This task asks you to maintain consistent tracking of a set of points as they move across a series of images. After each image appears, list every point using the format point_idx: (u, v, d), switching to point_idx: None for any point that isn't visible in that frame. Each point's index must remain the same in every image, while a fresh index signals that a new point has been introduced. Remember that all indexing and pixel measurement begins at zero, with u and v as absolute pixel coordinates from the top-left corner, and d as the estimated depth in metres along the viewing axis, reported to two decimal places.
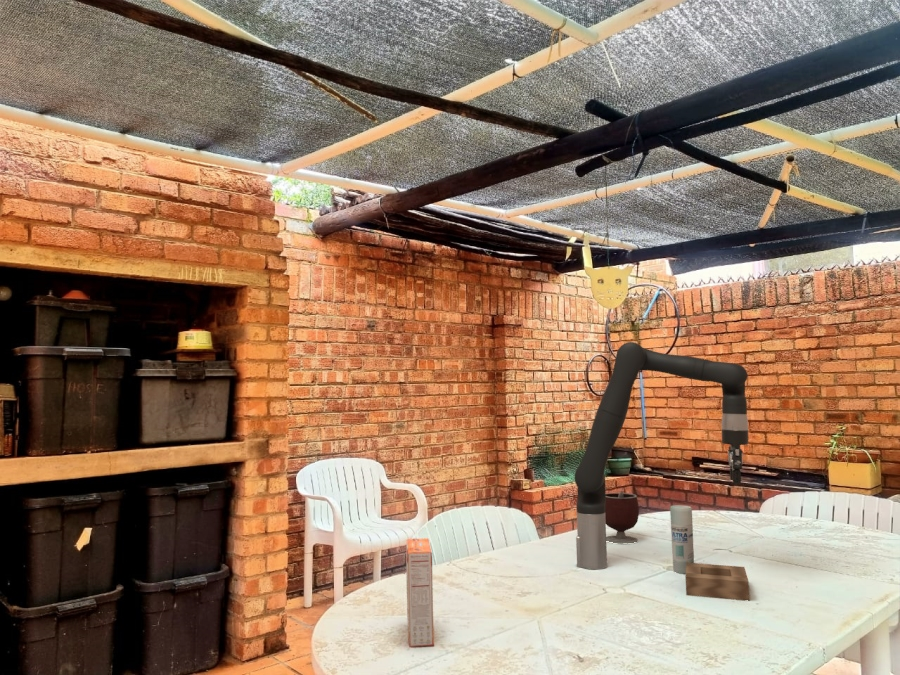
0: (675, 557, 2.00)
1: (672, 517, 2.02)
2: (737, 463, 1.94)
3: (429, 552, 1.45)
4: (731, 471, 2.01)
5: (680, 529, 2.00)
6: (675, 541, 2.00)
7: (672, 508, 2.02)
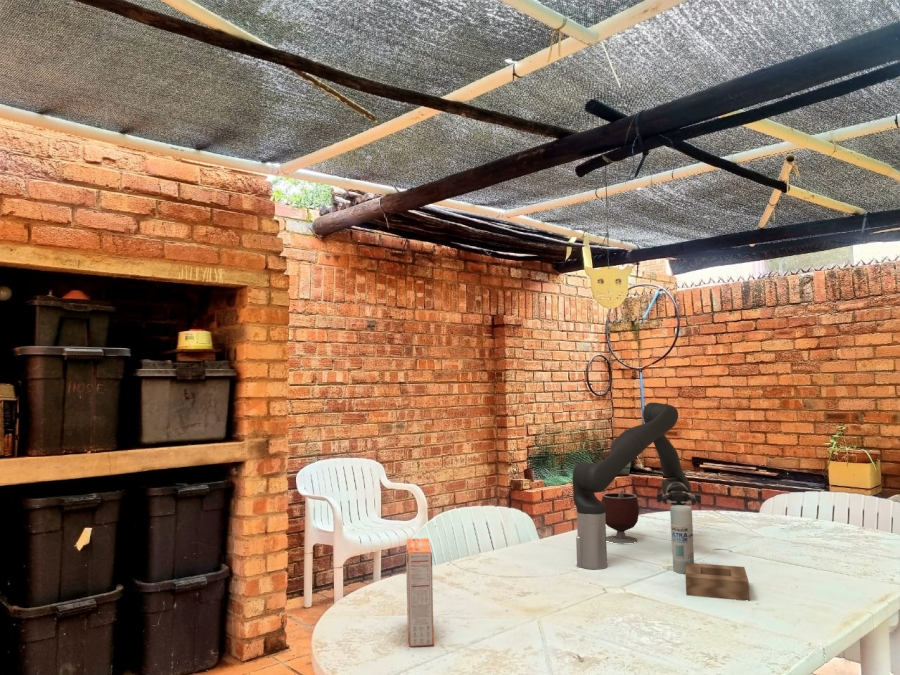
0: (675, 557, 2.00)
1: (672, 517, 2.02)
2: (690, 499, 2.18)
3: (429, 552, 1.45)
4: (666, 497, 2.17)
5: (680, 529, 2.00)
6: (675, 541, 2.00)
7: (672, 508, 2.02)
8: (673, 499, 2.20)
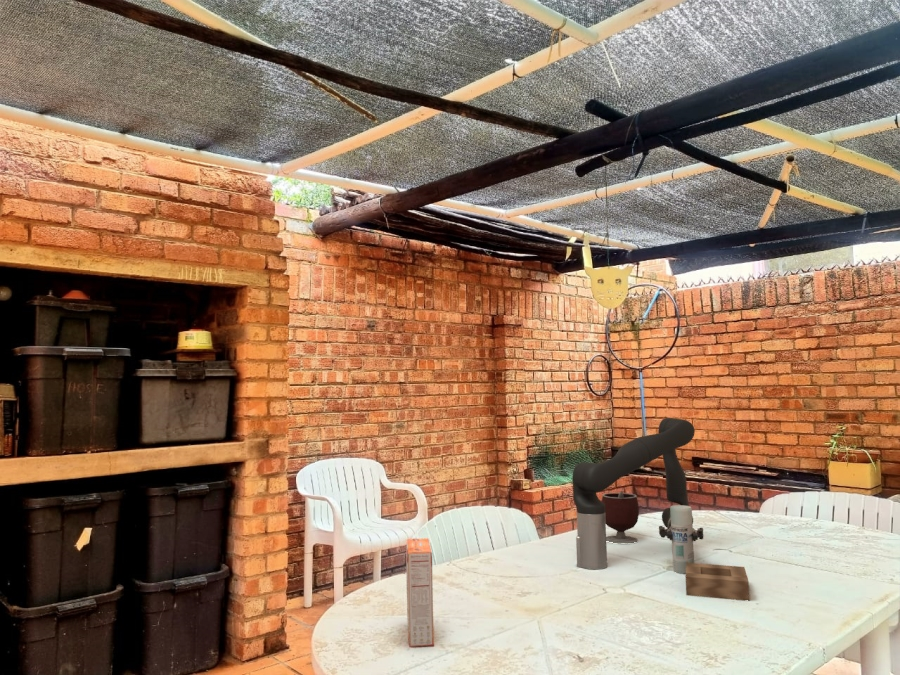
0: (675, 557, 2.00)
1: (672, 517, 2.02)
2: None
3: (429, 552, 1.45)
4: (671, 532, 2.03)
5: (680, 529, 1.99)
6: (675, 541, 2.00)
7: (672, 508, 2.02)
8: None
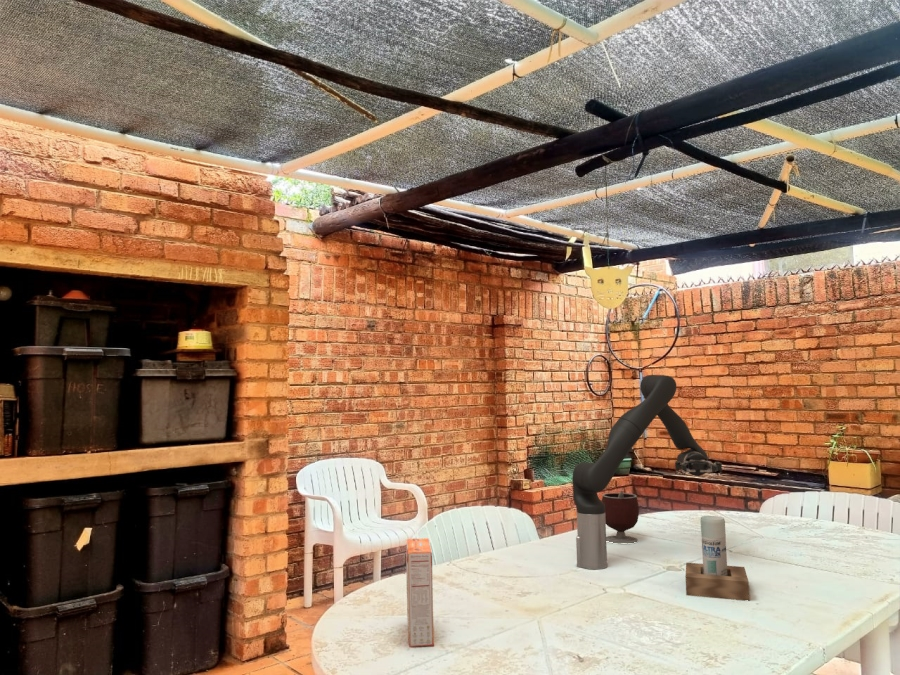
0: (707, 573, 1.81)
1: (703, 529, 1.83)
2: (710, 467, 2.07)
3: (429, 552, 1.45)
4: None
5: (712, 542, 1.81)
6: (707, 556, 1.82)
7: (703, 519, 1.83)
8: (692, 467, 2.09)
